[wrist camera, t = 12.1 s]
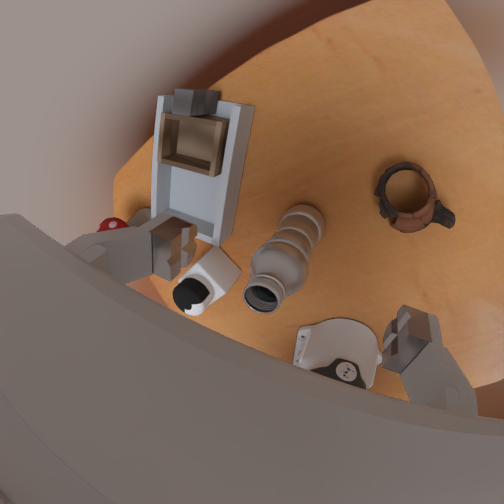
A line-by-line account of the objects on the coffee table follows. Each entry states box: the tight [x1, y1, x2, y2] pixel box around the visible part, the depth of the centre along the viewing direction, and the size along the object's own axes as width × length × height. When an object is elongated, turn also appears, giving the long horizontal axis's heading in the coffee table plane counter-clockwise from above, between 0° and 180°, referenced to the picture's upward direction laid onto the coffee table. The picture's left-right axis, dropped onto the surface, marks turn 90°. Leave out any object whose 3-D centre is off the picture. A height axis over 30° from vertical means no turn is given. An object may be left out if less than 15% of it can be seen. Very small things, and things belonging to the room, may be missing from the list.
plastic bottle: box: [243, 205, 324, 314], centre depth 34 cm, size 6×7×20 cm
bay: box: [151, 95, 255, 247], centre depth 42 cm, size 22×14×5 cm, turn 169°
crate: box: [157, 89, 230, 178], centre depth 37 cm, size 12×10×7 cm
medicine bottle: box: [173, 245, 242, 316], centre depth 48 cm, size 7×7×12 cm
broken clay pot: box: [374, 162, 455, 233], centre depth 32 cm, size 12×10×8 cm
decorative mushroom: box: [97, 208, 151, 232], centre depth 48 cm, size 10×9×15 cm
